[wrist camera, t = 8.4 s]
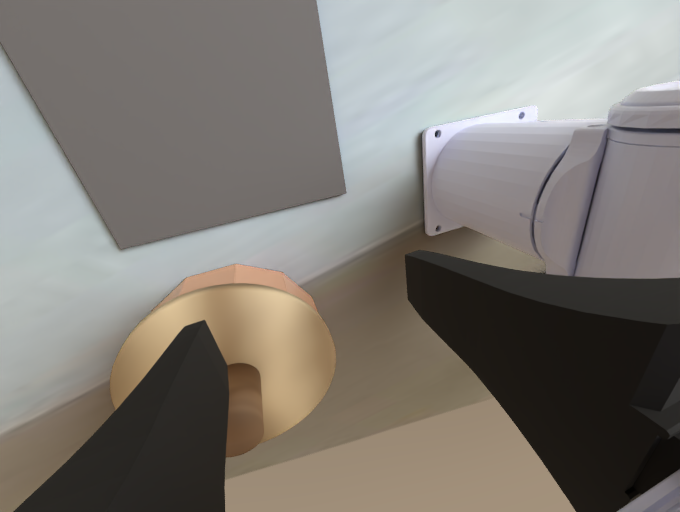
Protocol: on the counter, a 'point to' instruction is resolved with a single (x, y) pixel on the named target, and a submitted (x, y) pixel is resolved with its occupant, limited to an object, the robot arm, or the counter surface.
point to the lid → (242, 355)
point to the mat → (182, 106)
